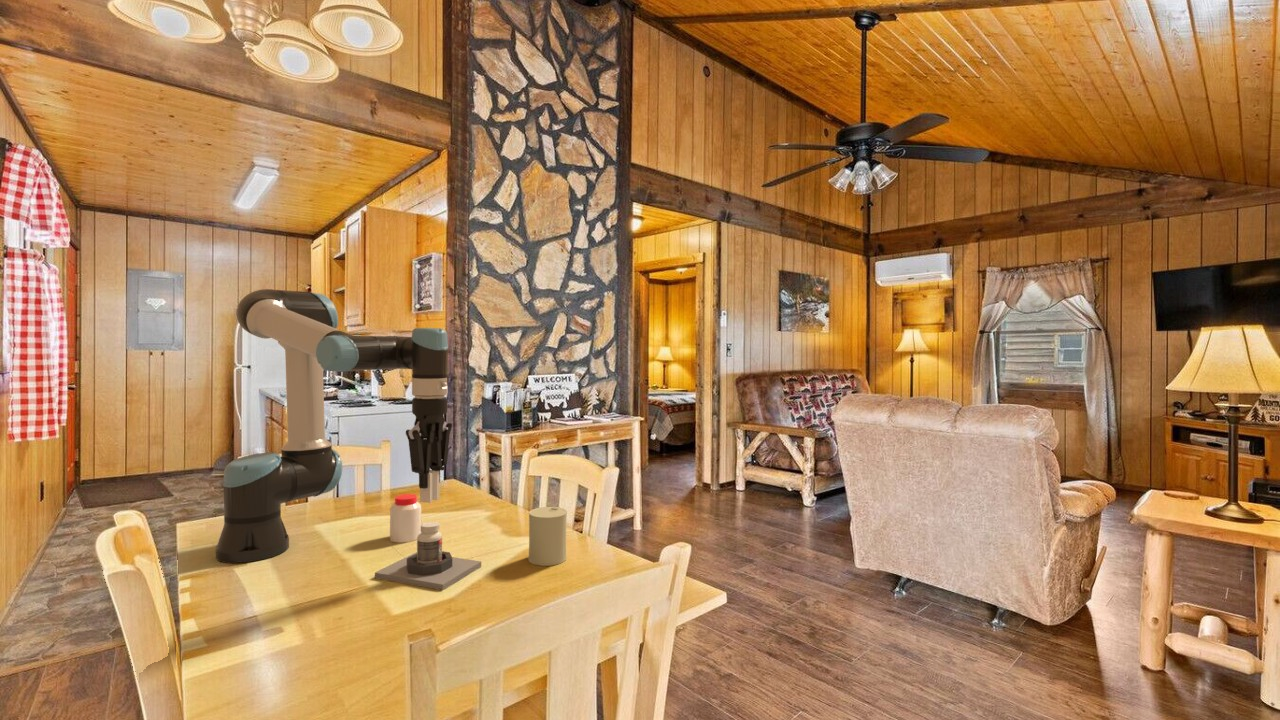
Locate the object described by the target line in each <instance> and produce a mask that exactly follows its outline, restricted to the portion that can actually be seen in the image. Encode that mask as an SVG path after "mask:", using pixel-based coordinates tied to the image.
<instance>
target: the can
mask: <svg viewBox="0 0 1280 720" xmlns="http://www.w3.org/2000/svg"><path fill="white" fill-rule="evenodd" d="M567 514H568V512H567V509H565V508H562V507H560V506H559V507H557V506H542V507H536V508H533V509H530V511H529V512H528V518H529V519H528V523H529V524H528V525H529V526H528V529H529V532H528V533H529V534H528V540H529V541H528V558H527V560H528V562H529V563H530V564H532V565H534V566H541V567H548V566H549V567H553V566H557V565H560V564H563V563H564V562H566V561H567V558H568V557H567V517H568V516H567ZM562 562H563V563H562Z"/></svg>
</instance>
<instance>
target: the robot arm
mask: <svg viewBox="0 0 1280 720" xmlns="http://www.w3.org/2000/svg"><path fill="white" fill-rule="evenodd" d="M236 320H237V321H238V323H239V325H240V327H241V328H242V329H243V331H245V332H248V334H250V335H253V336H255V337H258V338H261V339H264V340H265V339H273V340H275V341H277V342H278V344H279V345H280V346H281V347H282V348H283V349H284V352H285V385H286V389H285V390H286V393H285V394H286V417H287V418H286V419H287V421H286V422H287V424H286V425H287V441H286V443H285V444H284V445H282V447H281V448H280V449H281V451H280V452H281V453H280V454H281V455H280V454H279V453H278V452H262V453H253V454H250V455H245V456H242V457H239V458H236V459H233V460H231V461H230V462H229V463H228V464H227V465H226V466H225V468H224V472H223V481H222V485H223V517H224V518H223V528H222V530H221V533H220V536H219V538H218V543H217V545H216V546H215V559H216V560H217V559H218V560H220V561H219V562H221V561H223V562H222V563H228V562H229V563H230V564H233V563H234V564H236V563H239V562H240V563H249V562H250V563H251V562H256V561H262V560H266V559H269V558H273V557H275V556H278V555H280V554H282V553H284V552H286V551H287V550H288V549H289V548H290V537H289V534H288V533H287V529H286V527H285V524H284V521H283V519H282V511H281V509H282V504H284V503H289V502H293V501H297V500H303V499H308V498H311V497H318V496H321V495H323V494H326V493H329V492H331V491H332V490H334V489H335V488H336V486H337V485H338V484H339V482H340V480H341V477H342V473H343V461H342V458H340V457H341V456H340V454H339V452H337V450H335V449H333V447H332V443H331V442H330V441H329V440H328V439H326V432H325V431H326V430H325V428H326V427H325V422H326V421H325V399H324V398H325V393H324V392H325V391H324V389H325V387H324V371H327V372H338V373H345V372H356V371H374V370H375V371H377V370H379V371H380V370H381V371H382V370H412V372H411V373H412V374H411V395H412V396H413V398H412V399H411V412H412V414H413V415H414V416H415V419H414V423H413V427H412V428H411V429H406V431H405V435H406V437H407V439H408V448H409V450H408V451H409V458H410V466H411V472H413V473H415V474H418V487H419V503H428V504H430V503H433V501H439V500H440V484H441V471H445V470H446V469H445V468H446V467H445V466H447V465H448V456H449V455H448V454H449V447H450V436H451V435H450V434H451V430H452V427H453V424H452V423H450V422H447V421H446V420H445V417H444V415H445V414H447V413H448V398H447V397H446V395H447V394H448V367H449V366H448V365H449V364H448V362H449V361H448V359H449V357H448V354H449V352H448V351H449V344H448V343H449V342H448V333H447V331H446V329H444V328H434V327H433V328H432V327H415V328H413V330H412V334H411V336H403V335H402V336H399V335H382V336H381V335H380V336H379V335H374V336H373V335H353V334H350V333H348V332H345V331H343V330H340V329H338V325H339V314H338V311H337V307H336V306H335V304H334V302H333V301H332V300H331V299H330V298H329V297H328V296H327V295H324V294H322V293H317V292H312V291H297V290H283V289H273V288H267V289H266V288H264V289H258V290H254V291H251V292H249V293H248V294H246V295H245V296H244V297H242V299H241V300H240V301H239V303H238V305H237V307H236ZM447 396H448V395H447ZM218 560H217V561H218Z"/></svg>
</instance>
